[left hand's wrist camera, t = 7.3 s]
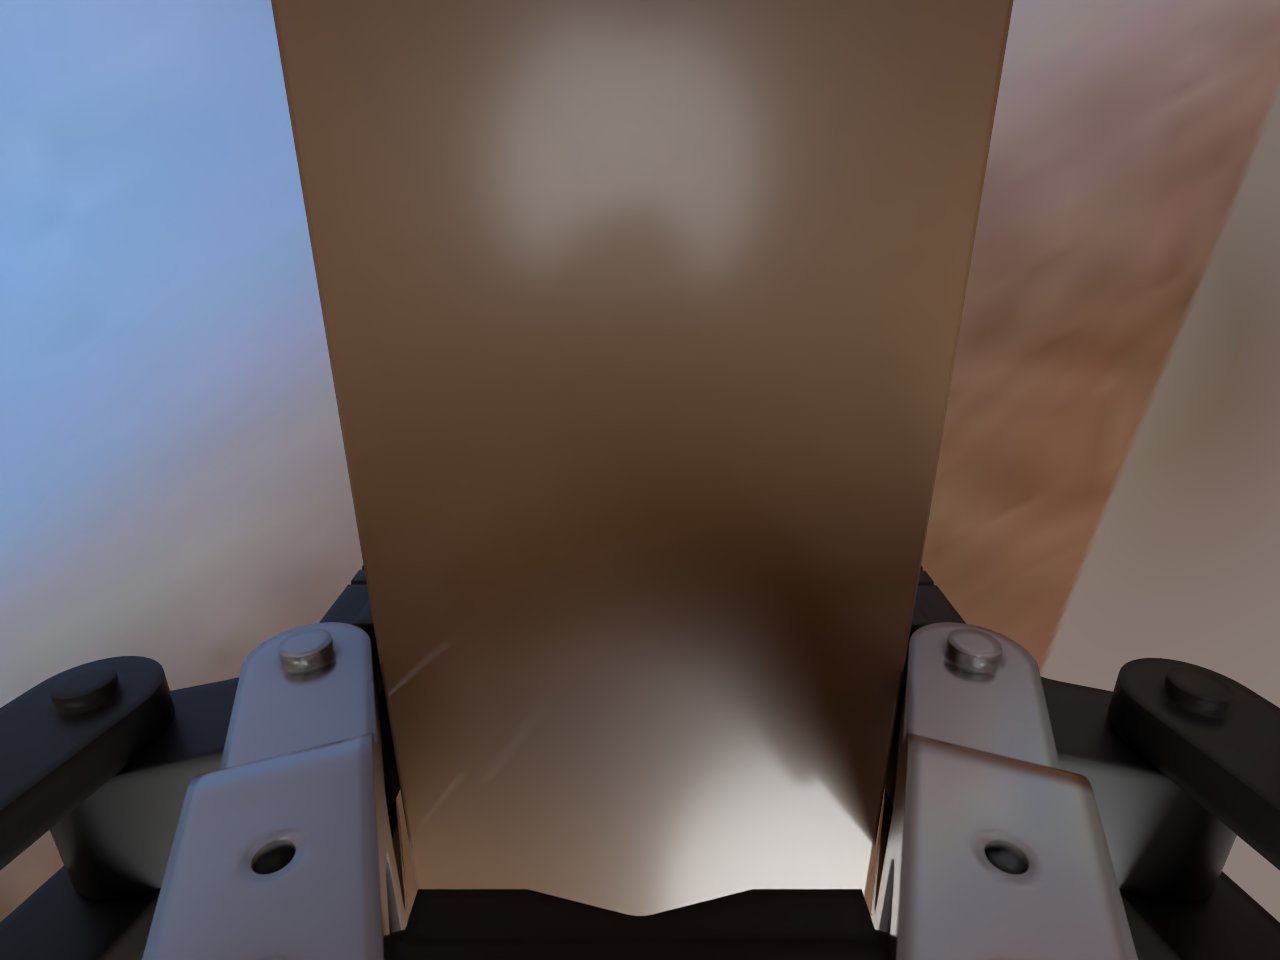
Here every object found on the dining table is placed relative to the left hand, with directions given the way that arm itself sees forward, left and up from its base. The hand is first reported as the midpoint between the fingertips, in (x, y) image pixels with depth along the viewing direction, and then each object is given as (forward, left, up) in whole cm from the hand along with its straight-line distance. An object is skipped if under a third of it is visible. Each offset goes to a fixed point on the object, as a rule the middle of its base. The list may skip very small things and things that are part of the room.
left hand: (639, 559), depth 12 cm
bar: (-4, +7, -4) cm, 8 cm away
